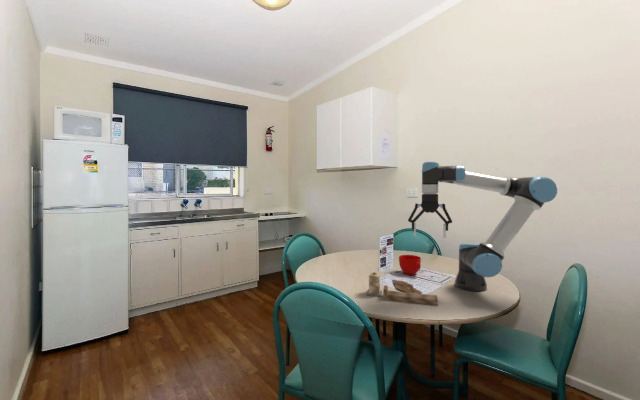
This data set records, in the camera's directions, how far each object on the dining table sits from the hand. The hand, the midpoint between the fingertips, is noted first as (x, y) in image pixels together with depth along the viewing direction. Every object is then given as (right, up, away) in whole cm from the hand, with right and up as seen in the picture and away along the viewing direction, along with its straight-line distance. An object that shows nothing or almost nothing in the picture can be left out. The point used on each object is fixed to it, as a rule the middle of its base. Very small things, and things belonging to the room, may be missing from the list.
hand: (429, 236), depth 142 cm
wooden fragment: (-9, -29, +12) cm, 32 cm away
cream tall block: (-27, -28, +2) cm, 39 cm away
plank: (-12, -29, -6) cm, 32 cm away
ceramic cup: (+2, -27, +34) cm, 44 cm away
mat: (-27, -29, +2) cm, 39 cm away
